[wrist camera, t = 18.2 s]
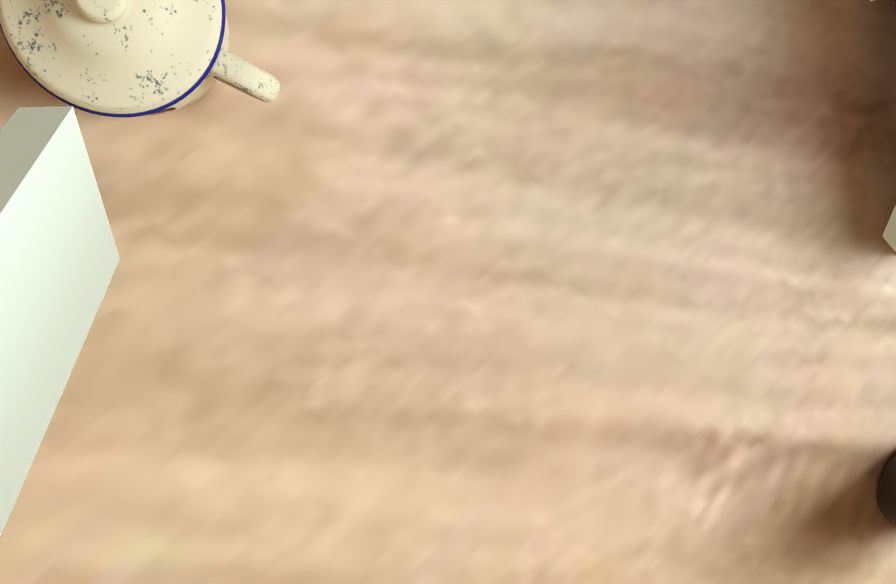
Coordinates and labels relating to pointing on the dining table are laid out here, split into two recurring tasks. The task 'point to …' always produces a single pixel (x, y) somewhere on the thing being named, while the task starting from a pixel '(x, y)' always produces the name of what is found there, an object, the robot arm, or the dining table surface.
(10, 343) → the robot arm
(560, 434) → the dining table surface
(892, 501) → the vinegar
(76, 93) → the teacup with lid
